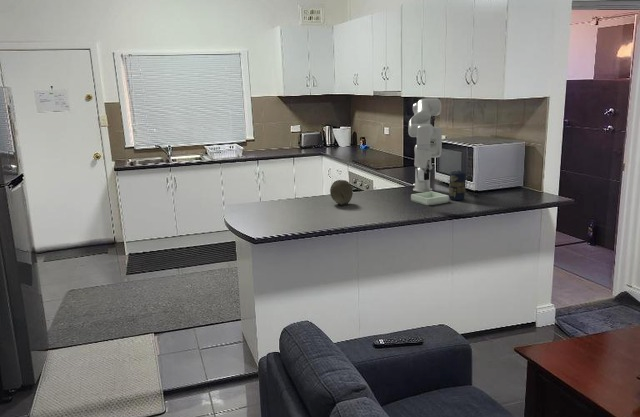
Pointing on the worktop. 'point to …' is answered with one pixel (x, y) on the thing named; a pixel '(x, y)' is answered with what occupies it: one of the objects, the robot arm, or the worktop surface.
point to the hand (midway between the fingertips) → (422, 178)
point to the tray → (429, 198)
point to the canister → (457, 185)
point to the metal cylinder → (421, 175)
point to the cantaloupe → (341, 192)
